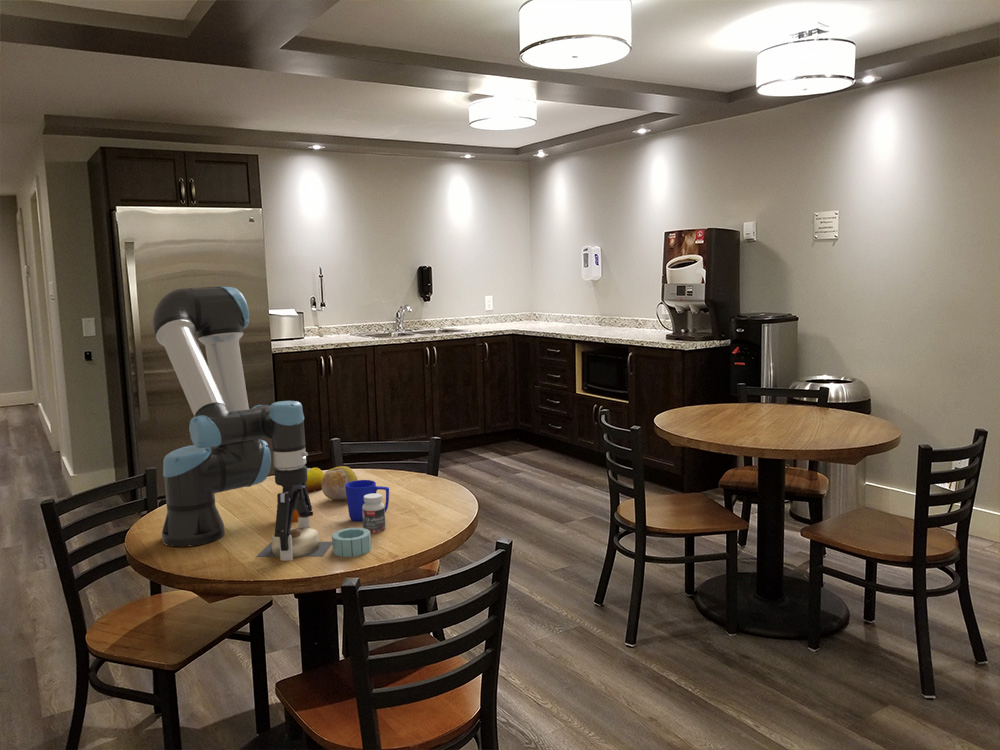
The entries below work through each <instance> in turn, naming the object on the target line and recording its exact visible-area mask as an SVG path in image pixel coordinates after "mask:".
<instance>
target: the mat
mask: <svg viewBox="0 0 1000 750" xmlns="http://www.w3.org/2000/svg"><path fill="white" fill-rule="evenodd" d="M331 547H332V541H319V549H318V550H316V551H315V552H313V553H310V554H307V555H303V556H299V557H298V558H300V557H301V558H303V557H307V558H308V557H310V558H311V557H313V558H315V557H317V558H319V557H324V555H325V554H326V553H327V552H328V550H329V549H330V548H331ZM255 557H256V558H280V556H276V555H274V554H273V552H272V541H270V542H269V544H268V545H266V546H265V547H264V548H263V549H262V550H261V551H260V552H259V553H258V554H257V555H256V556H255Z"/></svg>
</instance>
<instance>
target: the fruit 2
mask: <svg viewBox="0 0 1000 750" xmlns="http://www.w3.org/2000/svg"><path fill="white" fill-rule="evenodd" d="M324 474H325V475H324V477H323V480H322V489H321V490H322V493H323V494H324V495H325V497H326V498H328V499H330V500H332V501H338V500H340V501H347V496H346V489H345V485H346V484H347V483H349V482H352V481H357V480H358V476H357V474H356V472H355V471H354V470H353V469H352V468H350V467H349V466H345V465H344V466H343V465H341V466H336V467H333V468H330V469H328V470H327V471H326V472H325V473H324Z"/></svg>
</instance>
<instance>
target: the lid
mask: <svg viewBox="0 0 1000 750" xmlns="http://www.w3.org/2000/svg"><path fill="white" fill-rule="evenodd" d="M319 534H320V533H319V531H318V530H316V529H315V528H311V527H310V528H299V527H297V528H296V527H295V528H291V529H290V535H291V536H292V550H293V558H300V557H299V556H303V555H307V554H310V553H313V552H315V551H316V550H318V549H319V542H320V535H319ZM270 538H271V539H270V540H271V542H272V552H273V554H274V555H276V556H280V544H279V537H275V536H274V534H272V536H271V537H270Z"/></svg>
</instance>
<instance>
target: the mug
mask: <svg viewBox="0 0 1000 750" xmlns="http://www.w3.org/2000/svg"><path fill="white" fill-rule="evenodd" d="M345 489H346V496H347V500H346V503H347V509H348V517H349V519H350V520H351V521H352V522H356V523H357V522H360V523H361V522H362V523H363V515H362V506H363V505H364V504H365V502H364V496H365V495H367V494H372V493H378V492H377V491H378V490H382V491H385V503H384V507H385V513H387V510H388V508H389V501H390V500H389V499H390V487H387V486H381V485H380V486H379V485H377V483H376V481H374V480H371V479H359V480H357V481H352V482H349V483H347V484H346V485H345Z"/></svg>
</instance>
